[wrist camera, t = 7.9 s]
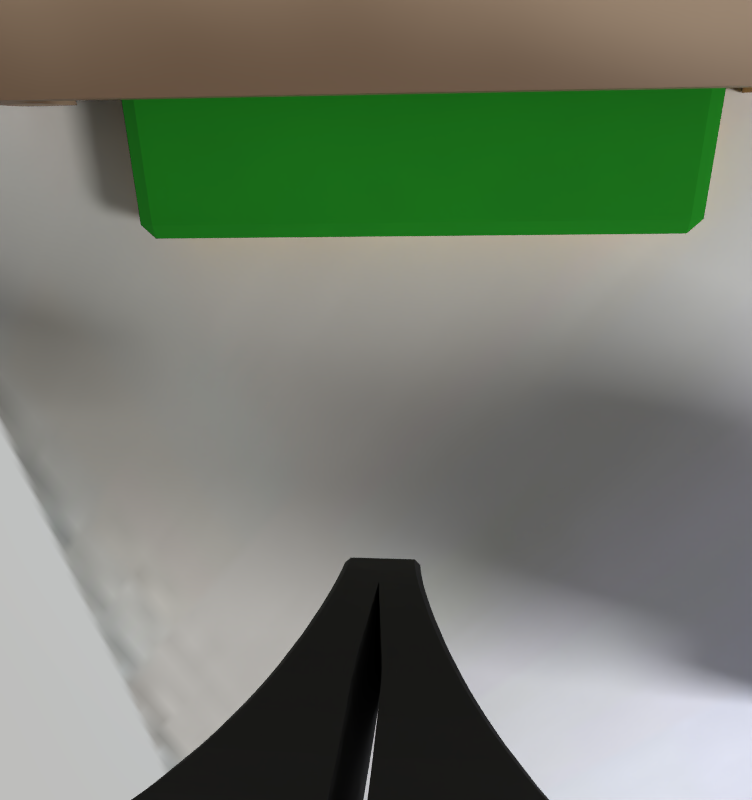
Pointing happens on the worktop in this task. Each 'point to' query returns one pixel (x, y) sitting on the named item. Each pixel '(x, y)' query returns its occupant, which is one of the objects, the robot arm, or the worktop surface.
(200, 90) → the low shelf
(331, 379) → the worktop surface
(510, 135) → the dish sponge
